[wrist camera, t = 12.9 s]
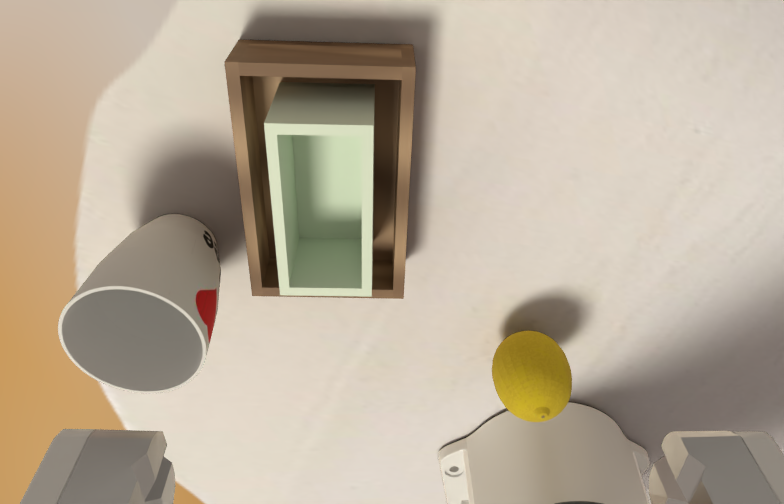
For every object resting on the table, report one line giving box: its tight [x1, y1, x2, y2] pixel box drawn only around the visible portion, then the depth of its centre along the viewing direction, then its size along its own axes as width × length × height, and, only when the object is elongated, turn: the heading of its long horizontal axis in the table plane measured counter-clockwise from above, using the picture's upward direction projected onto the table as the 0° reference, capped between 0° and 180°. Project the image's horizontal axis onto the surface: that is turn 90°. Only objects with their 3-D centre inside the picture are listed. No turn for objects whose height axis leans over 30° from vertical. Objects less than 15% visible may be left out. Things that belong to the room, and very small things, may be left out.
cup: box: [58, 214, 221, 394], centre depth 40 cm, size 8×8×10 cm
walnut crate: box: [225, 40, 416, 299], centre depth 39 cm, size 15×10×4 cm, turn 178°
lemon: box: [492, 331, 572, 422], centre depth 46 cm, size 6×6×8 cm
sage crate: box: [264, 82, 375, 297], centre depth 37 cm, size 11×6×6 cm, turn 178°
